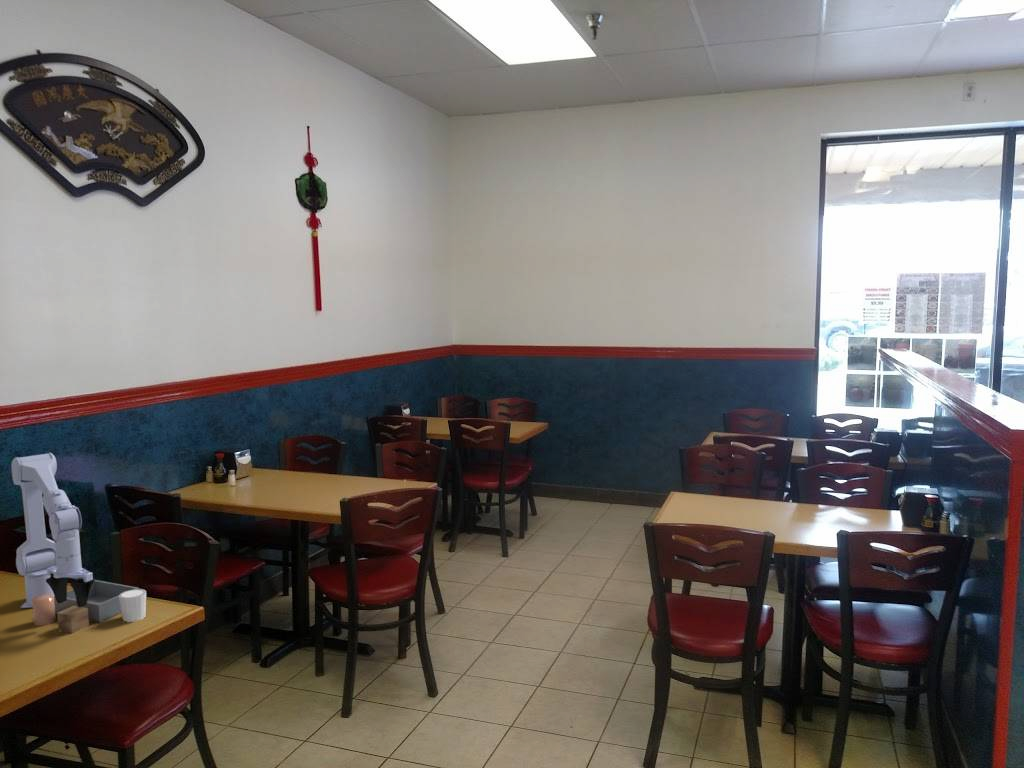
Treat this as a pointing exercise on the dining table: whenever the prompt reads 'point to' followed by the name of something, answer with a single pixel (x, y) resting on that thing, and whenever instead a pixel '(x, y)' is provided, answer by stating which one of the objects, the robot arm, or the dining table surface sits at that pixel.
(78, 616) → the walnut cube
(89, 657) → the dining table surface
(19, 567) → the robot arm
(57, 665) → the dining table surface
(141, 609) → the white cylinder
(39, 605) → the terracotta cylinder
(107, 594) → the tote
